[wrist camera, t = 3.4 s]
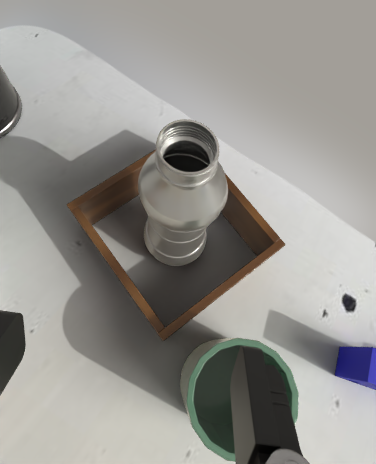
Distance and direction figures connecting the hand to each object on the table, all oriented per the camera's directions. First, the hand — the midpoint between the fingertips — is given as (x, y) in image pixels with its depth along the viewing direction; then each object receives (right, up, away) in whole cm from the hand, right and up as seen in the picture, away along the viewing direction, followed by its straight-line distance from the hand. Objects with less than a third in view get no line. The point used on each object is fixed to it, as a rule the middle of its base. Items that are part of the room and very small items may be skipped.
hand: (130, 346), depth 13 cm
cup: (+5, -11, +22) cm, 25 cm away
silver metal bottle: (+1, +3, +26) cm, 26 cm away
